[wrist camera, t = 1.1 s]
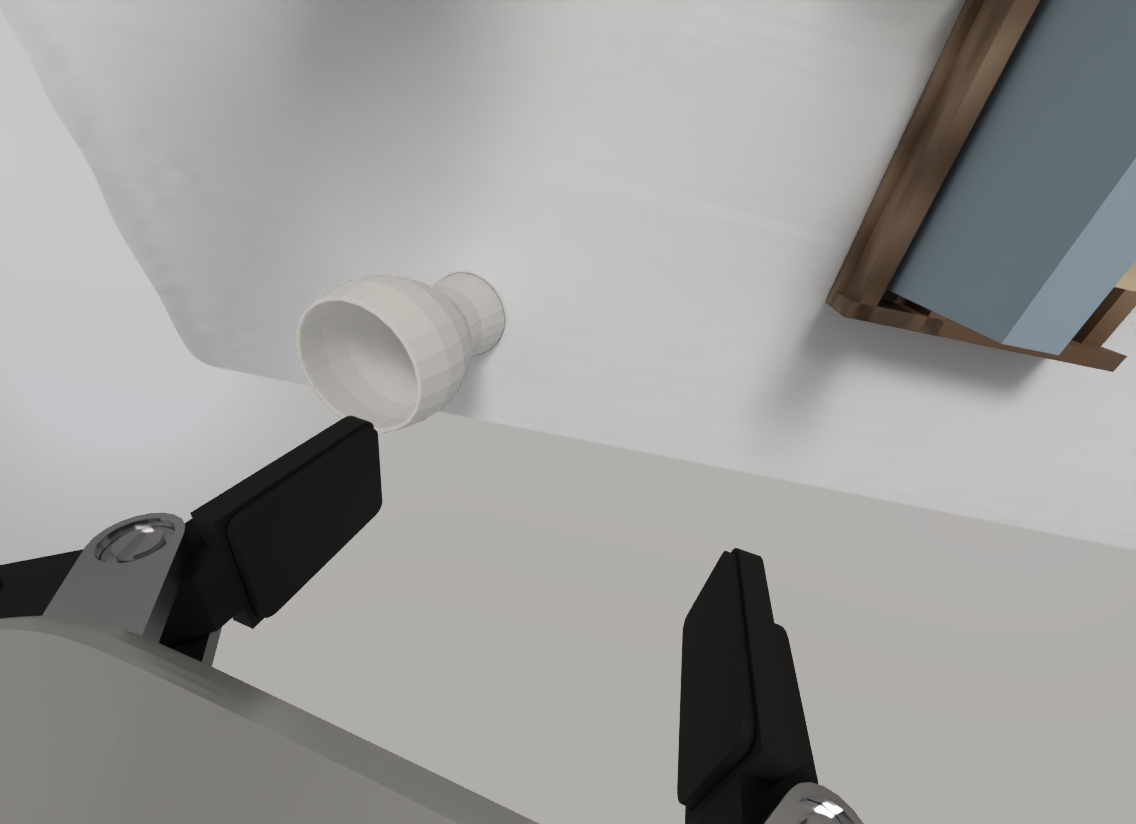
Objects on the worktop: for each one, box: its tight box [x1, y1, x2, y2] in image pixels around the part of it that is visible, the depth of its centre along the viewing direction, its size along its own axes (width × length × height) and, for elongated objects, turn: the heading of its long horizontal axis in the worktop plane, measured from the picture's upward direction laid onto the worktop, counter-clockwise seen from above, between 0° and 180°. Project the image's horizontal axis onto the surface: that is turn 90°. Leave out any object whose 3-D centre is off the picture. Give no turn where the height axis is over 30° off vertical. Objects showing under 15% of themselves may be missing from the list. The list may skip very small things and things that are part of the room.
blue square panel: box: [886, 0, 1136, 355], centre depth 19 cm, size 14×2×14 cm, turn 171°
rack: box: [826, 0, 1136, 372], centre depth 23 cm, size 18×15×4 cm
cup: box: [296, 273, 504, 433], centre depth 33 cm, size 11×11×15 cm
